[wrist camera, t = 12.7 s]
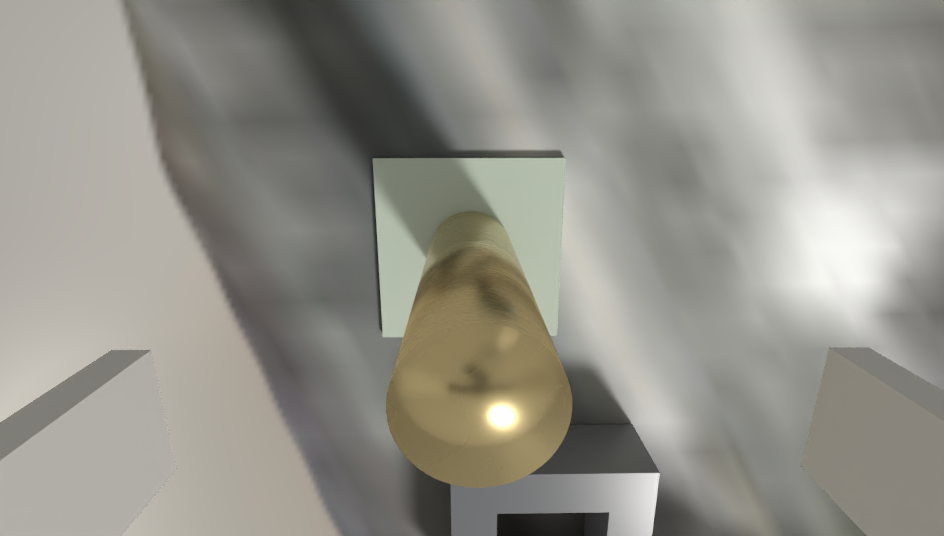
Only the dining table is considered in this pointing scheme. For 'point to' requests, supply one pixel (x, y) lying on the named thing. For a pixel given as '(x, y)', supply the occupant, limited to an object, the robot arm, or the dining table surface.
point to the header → (573, 487)
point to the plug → (477, 364)
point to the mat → (458, 190)
